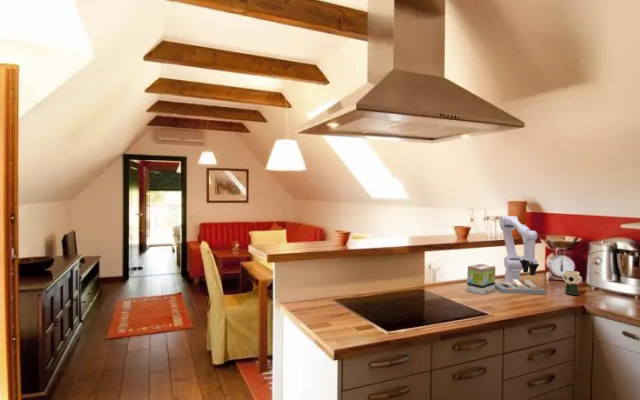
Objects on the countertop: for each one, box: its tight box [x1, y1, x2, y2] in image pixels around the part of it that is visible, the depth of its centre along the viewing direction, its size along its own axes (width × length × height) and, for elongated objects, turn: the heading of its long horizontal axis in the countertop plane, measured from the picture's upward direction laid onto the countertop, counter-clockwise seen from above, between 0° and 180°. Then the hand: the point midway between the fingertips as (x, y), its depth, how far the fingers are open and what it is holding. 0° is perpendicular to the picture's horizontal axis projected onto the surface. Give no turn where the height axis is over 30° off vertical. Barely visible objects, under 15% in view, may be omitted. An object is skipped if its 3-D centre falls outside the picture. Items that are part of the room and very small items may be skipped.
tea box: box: [466, 263, 496, 295], centre depth 209 cm, size 15×10×15 cm
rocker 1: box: [499, 281, 511, 285], centre depth 210 cm, size 8×3×2 cm, turn 176°
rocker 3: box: [523, 279, 537, 288], centre depth 209 cm, size 8×3×2 cm, turn 176°
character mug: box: [561, 270, 583, 296], centre depth 202 cm, size 11×7×13 cm, turn 19°
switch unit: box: [495, 282, 546, 295], centre depth 210 cm, size 14×24×3 cm, turn 86°
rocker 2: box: [512, 279, 524, 288], centre depth 210 cm, size 8×3×2 cm, turn 176°
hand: (528, 273), depth 210 cm, fingers open, 7 cm apart
